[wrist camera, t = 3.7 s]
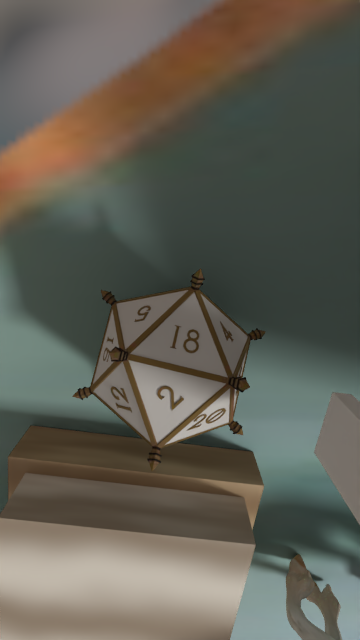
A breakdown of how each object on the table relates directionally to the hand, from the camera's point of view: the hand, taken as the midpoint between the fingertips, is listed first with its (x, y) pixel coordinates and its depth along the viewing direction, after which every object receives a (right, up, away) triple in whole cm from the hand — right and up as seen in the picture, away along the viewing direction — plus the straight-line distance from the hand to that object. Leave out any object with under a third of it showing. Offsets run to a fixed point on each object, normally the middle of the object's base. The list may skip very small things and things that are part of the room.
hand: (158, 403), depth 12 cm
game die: (0, +2, +8) cm, 8 cm away
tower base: (-3, -12, +12) cm, 17 cm away
